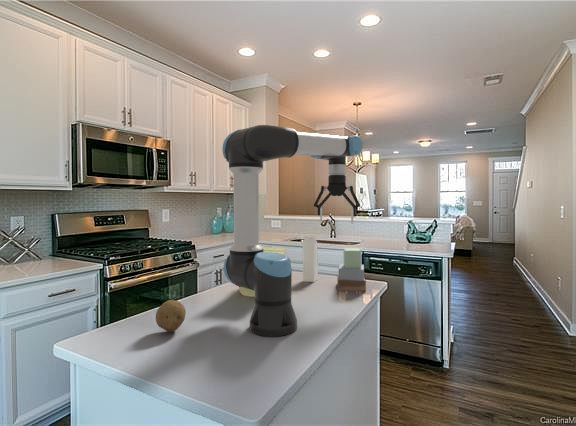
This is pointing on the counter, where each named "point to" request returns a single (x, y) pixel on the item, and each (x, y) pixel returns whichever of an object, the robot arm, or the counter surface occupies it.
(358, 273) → the tower top
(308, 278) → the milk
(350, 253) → the sage block
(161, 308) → the potato
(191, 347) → the counter surface
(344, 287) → the tower base
